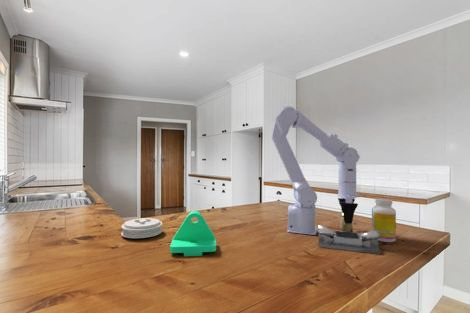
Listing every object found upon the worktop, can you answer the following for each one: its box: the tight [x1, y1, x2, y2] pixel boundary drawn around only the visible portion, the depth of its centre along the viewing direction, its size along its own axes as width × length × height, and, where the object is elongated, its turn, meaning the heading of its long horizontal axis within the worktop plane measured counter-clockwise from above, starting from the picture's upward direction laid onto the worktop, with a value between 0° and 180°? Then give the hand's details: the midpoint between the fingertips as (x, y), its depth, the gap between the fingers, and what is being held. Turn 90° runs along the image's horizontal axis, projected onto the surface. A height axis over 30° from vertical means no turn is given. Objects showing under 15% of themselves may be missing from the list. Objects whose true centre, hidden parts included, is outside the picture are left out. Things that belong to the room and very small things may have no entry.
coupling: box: [340, 210, 355, 232], centre depth 88 cm, size 4×4×7 cm
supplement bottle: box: [371, 198, 397, 243], centre depth 81 cm, size 7×7×13 cm
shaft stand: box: [316, 224, 382, 255], centre depth 76 cm, size 17×10×5 cm, turn 70°
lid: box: [120, 217, 163, 239], centre depth 84 cm, size 13×13×5 cm
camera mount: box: [169, 210, 217, 257], centre depth 70 cm, size 12×8×10 cm, turn 97°
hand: (347, 220), depth 88 cm, fingers open, 7 cm apart
